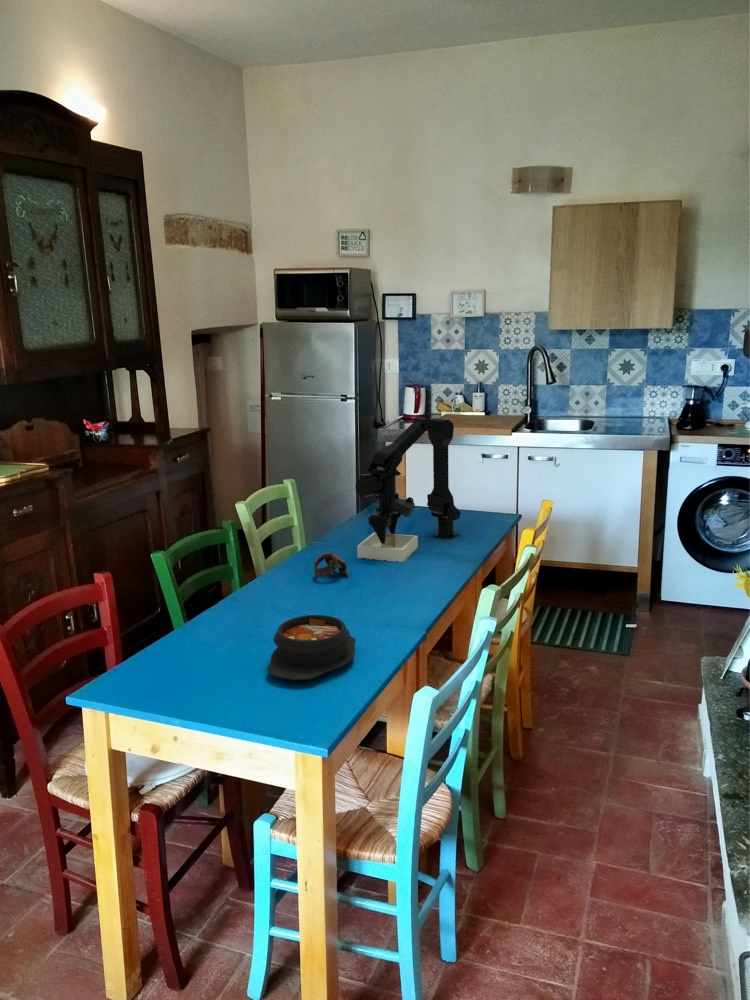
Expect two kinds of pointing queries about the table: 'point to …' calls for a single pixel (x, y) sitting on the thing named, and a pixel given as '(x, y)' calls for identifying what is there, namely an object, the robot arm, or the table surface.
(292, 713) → the table surface
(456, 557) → the table surface
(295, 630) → the casserole
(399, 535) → the gray and white box
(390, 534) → the wooden cylinder
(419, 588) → the table surface
